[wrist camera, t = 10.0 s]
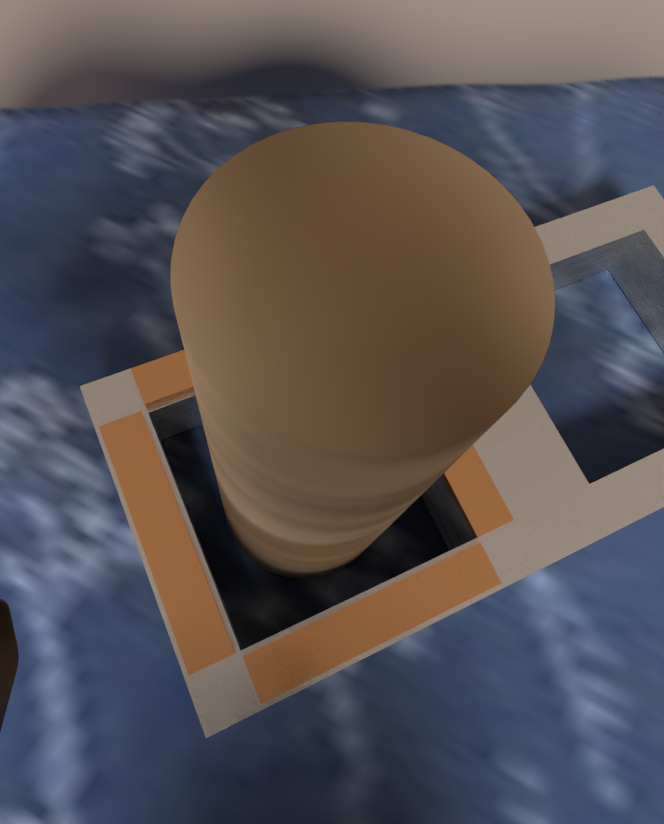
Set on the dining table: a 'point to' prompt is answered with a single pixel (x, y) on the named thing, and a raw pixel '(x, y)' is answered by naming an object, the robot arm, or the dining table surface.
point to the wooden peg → (351, 330)
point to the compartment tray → (445, 499)
